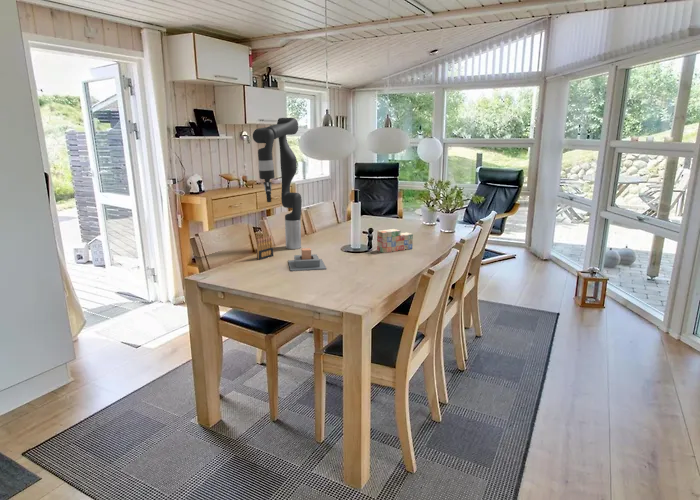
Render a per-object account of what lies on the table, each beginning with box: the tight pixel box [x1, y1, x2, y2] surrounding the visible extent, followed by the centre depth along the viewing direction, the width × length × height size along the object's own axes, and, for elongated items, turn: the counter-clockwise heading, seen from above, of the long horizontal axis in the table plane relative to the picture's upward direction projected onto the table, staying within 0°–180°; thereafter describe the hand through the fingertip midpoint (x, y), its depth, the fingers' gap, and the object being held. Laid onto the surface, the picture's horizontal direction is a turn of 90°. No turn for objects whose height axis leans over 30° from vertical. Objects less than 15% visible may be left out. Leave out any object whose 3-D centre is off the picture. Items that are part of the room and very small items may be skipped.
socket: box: [287, 253, 327, 272], centre depth 230 cm, size 18×18×4 cm
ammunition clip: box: [256, 235, 274, 261], centre depth 243 cm, size 11×2×12 cm, turn 143°
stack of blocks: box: [376, 228, 414, 254], centre depth 263 cm, size 21×6×12 cm, turn 118°
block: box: [300, 247, 312, 260], centre depth 229 cm, size 4×4×8 cm
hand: (269, 200), depth 230 cm, fingers open, 8 cm apart
